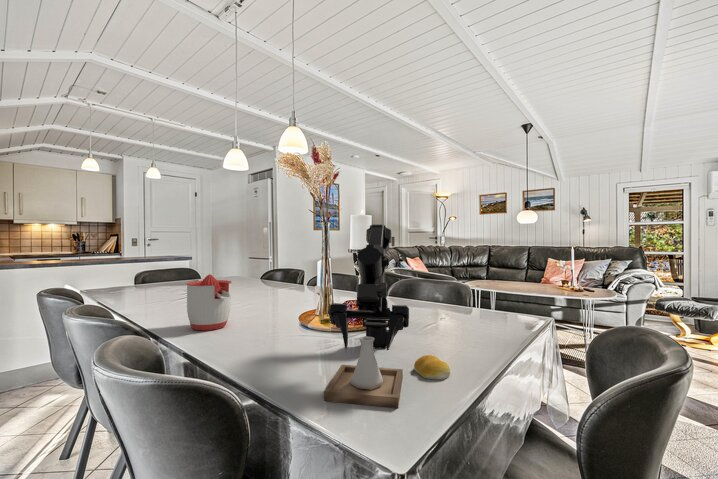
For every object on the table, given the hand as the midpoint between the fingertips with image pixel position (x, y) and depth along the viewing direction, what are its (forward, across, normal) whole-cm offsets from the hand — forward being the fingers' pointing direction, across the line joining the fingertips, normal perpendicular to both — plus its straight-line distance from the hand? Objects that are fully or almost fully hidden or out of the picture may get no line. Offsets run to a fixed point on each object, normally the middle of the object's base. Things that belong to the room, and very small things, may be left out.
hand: (366, 348), depth 74 cm
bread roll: (-2, +15, +15) cm, 21 cm away
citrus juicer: (-25, -63, +38) cm, 78 cm away
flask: (+5, 0, +6) cm, 8 cm away
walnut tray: (+6, 0, +7) cm, 9 cm away
